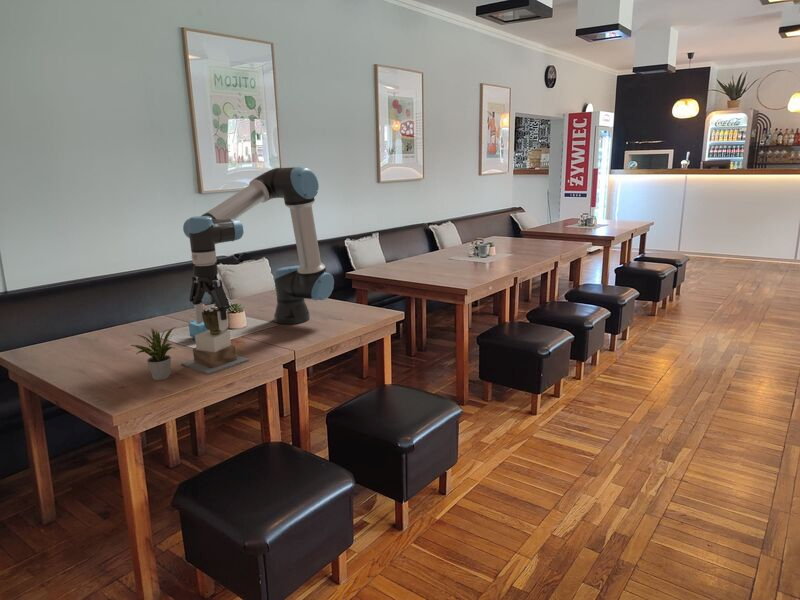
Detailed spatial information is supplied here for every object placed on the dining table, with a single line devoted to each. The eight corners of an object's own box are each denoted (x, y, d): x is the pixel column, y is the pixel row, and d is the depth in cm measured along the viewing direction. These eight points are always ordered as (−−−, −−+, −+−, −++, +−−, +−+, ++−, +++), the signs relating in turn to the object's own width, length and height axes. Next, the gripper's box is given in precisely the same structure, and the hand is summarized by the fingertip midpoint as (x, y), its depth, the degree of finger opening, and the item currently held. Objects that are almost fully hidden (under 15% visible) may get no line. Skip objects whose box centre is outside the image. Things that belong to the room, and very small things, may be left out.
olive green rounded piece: (206, 338, 186) (203, 315, 184) (202, 333, 192) (199, 310, 190) (229, 335, 189) (226, 312, 187) (224, 329, 195) (222, 307, 193)
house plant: (163, 365, 193) (157, 319, 189) (195, 370, 187) (189, 323, 183) (129, 380, 180) (122, 331, 176) (162, 386, 175) (155, 335, 171)
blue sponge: (185, 337, 224) (183, 318, 222) (199, 333, 228) (197, 315, 226) (202, 342, 216) (200, 323, 214) (216, 338, 221) (214, 320, 219)
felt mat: (222, 351, 205) (222, 350, 205) (249, 360, 195) (249, 359, 195) (181, 364, 193) (181, 363, 193) (208, 374, 183) (208, 373, 183)
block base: (219, 354, 201) (218, 340, 199) (236, 359, 194) (235, 346, 193) (194, 362, 193) (192, 348, 192) (211, 368, 187) (209, 354, 186)
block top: (213, 342, 198) (211, 328, 196) (231, 345, 194) (229, 331, 193) (196, 349, 191) (194, 335, 189) (215, 352, 187) (213, 337, 186)
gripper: (174, 262, 190) (181, 322, 196) (216, 269, 175) (223, 334, 180) (194, 258, 196) (201, 317, 201) (237, 265, 181) (243, 329, 186)
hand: (211, 325), depth 191 cm, fingers open, 13 cm apart
